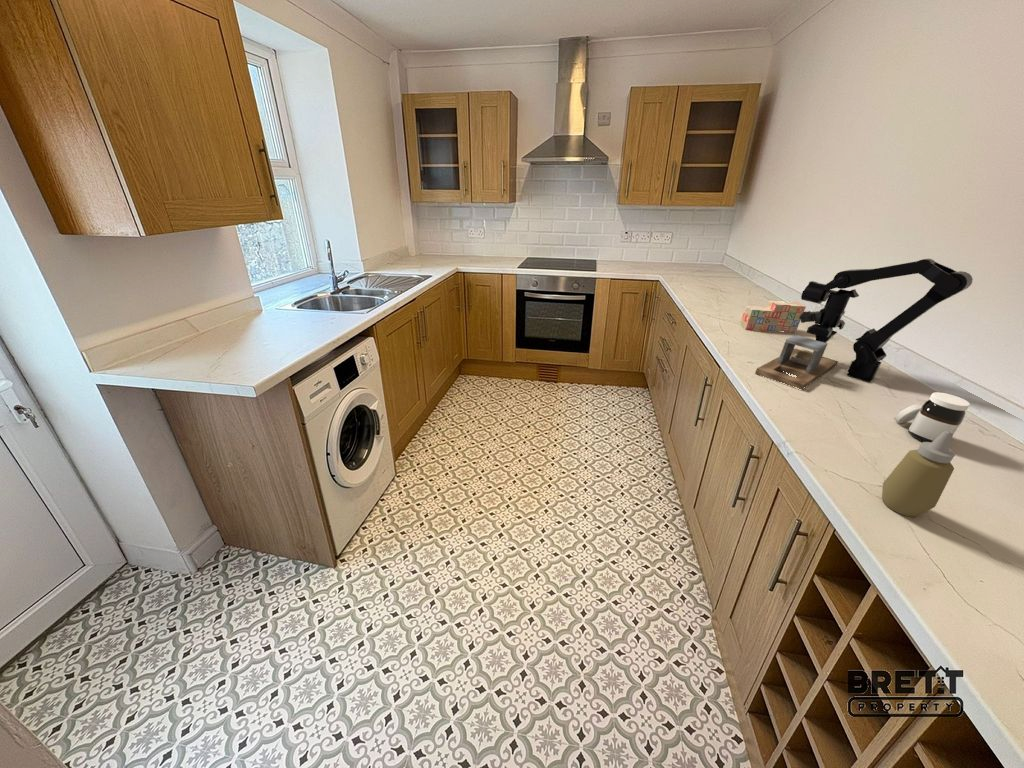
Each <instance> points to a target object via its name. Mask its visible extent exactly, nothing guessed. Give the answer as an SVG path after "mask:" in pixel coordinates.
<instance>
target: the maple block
mask: <svg viewBox="0 0 1024 768" xmlns="http://www.w3.org/2000/svg"><path fill="white" fill-rule="evenodd" d="M799 350H800V351H798V353H797V355H796V357H797V358H800V359H803V360H806V361H809V362H810V359H811V357H812V355H813V351H812V350H809V349H805V348H801V349H799Z"/></svg>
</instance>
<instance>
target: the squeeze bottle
mask: <svg viewBox="0 0 1024 768" xmlns="http://www.w3.org/2000/svg"><path fill="white" fill-rule="evenodd" d="M953 436H954V434H953V433H951V432H949V431H944V432H943V433H942V434H941V435H939V436H938V437H937V438H936V439H935V440H934V441H933V442H922V441H921V443H920V445H919V446H918V447H917V449H912V450H909V451H908V452H907V453H906V454H905V456H903V458H902V459H901V461H900V462H899V463H898V464H897V465H896V467H894V468H893V470H892V472H891V473H890V474H889V475H888V477H886V478H885V480H884V481H883V482H882V491H881V499H882V502H883V504H884V505H885V506H886V507H888V508H889V509H890V510H892V511H893V512H896V513H898V514H900V515H903V516H906V517H910V518H911V517H912V518H917V517H921V515H923V514H926V512H928V511H931V510H932V509H933V508H935V507H936V505H937V504H938V502H939V500H940V498H941V496H942V494H943V492H944V490H945V488H946V486H947V484H948V482H949V480H950V478H951V475H952V474H953V472H954V470H955V468H954V465H953V464H952V463H951V462H952V460H953V459H954V457H955V456H956V454H955V453H954V451H953V450H951V449H950V446H951V444H952V440H953Z"/></svg>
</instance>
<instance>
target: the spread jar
mask: <svg viewBox="0 0 1024 768" xmlns="http://www.w3.org/2000/svg"><path fill="white" fill-rule="evenodd" d="M970 406H971V403H970V402H969V401H968V400H966V399H964V398H962V397H959V396H957V395H953V394H951V393H946V392H938V391H937V392H932V393H931V395H930V396H929V399H928V400H926V401H925V402H924V403H923V404H922V403H914V404H913V405H912V404H911V405H910V406H908V407H906V408H904V409H902V410H901V411H899V412H898V413H897V414H896V415H895V416H894V418H893V419H894V420H895V421H894V422H896V423H897V424H899V425H901V424H905V423H908V422H911V421H912V422H911V424H910V426H909V428H908V431H907V432H908V434H909V435H910V436H911V437H912V438H914V439H916V440H917V441H920V442H921V443H922V442H933V441H934V440H935V439H936V438H937V437H938V436H939V435H941V434H942V433H943V432H944V431H949V432H951V433H953V435H954V434H955V433H956V431H957V430H958V428H959V427H960V425H961V424H962V422H963V420H964V418H965V416H966V411H967V410H968V409H969V407H970Z"/></svg>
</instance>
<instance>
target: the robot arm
mask: <svg viewBox="0 0 1024 768" xmlns="http://www.w3.org/2000/svg"><path fill="white" fill-rule="evenodd" d="M916 274H919V275H921V276H922V277H924V278H925V279H926V280H928V281H929V282H931V283H932V284H934V285H932V286H931V288H930V289H928V291H927V292H926V293H925V294H924V295H923V296H922V297H921V298H920V299H918V300H917V301H916V302H914V303H913V304H912V305H910V306H909V307H908V308H906V309H905V310H904V311H902V312H901V313H900V314H898V315H897V316H895V317H894V318H893V319H891V320H890V321H889V322H887V323H886V324H885V325H883V326H882V327H881V328H879V329H875V328H874V327H873V328H871V329H869V330H866V331H865V332H864V333H863V334H862V335H861V336H860V337H857V338H855V342H854V343H853V345H852V346H853V347H852V348H853V351H854V353H855V359H853V360H852V361H851V363H850V366H849V367H848V370H847V374H846V376H848V377H851V378H854V379H858V380H861V381H863V382H864V381H865V382H867V383H871V382H872V381H873V380H875V379H876V374H877V372H878V371H879V368H880V367H881V365H882V361H883V360H884V359H885V358H886V357H887V353H886V352H885V350H884V348H883V347H884V346H885V345H886V344H887V343H888V342H889V341H890V339H892V337H893V336H894V335H896V334H897V333H899V332H900V331H902V330H903V329H904V328H906V327H907V326H909V325H910V324H911V323H913V322H914V321H915V320H917V319H918V318H920V317H922V315H923V314H926V313H927V312H928V311H930V310H931V309H932V308H934V307H935V306H937V305H938V304H939V303H942V302H943V301H946V300H947V299H949V298H951V297H954V296H955V295H957V294H959V293H961V292H963V291H965V290H967V289H968V288H969V287H971V285H972V284H973V280H974V279H973V276H972V275H971V273H969V272H967V271H963V270H962V271H961V270H960V271H957V270H955V269H953V268H950V267H949V266H945V265H943V264H941V263H939V262H936V261H935V260H934V259H932V258H923V259H919V260H917V261H910V262H905V263H900V264H894V265H888V266H883V267H878V268H877V267H876V268H859V269H854V268H853V269H847V270H843V271H839V272H837V273H836V274H835V275H834V276H833V279H832V280H831V281H828V282H827V283H819V282H817V281H813V280H811V281H809V282H808V284H807V286H806V287H805V288H804V289H803V291H802V292H801V296H800V299H801V300H802V301H806V302H811V303H814V304H818V305H820V304H822V303H824V302H825V304H824V306H823V308H821V309H820V310H819V311H816V310H815V311H810V310H808V311H805V310H804V312H803V313H802V314H801V315H800V317H799V319H801V320H800V324H801V323H802V324H804V323H812V322H814V324H812V325H810V326H807V330H806V333H807V334H811V335H814V336H815V340H817V341H820V342H824V343H826V342H827V343H828V342H829V341H830V340H831V339H832V338H834V336H835V335H836V334H837V333H838V331H835V330H834V329H836V328H838V329H839V330H843V329H844V327H845V325H846V322H845V321H844V319H843V320H842V316H844V315H845V313H846V311H845V310H846V308H847V305H848V303H849V300H850V298H852V299H855V298H858V297H859V296H860V295H859V293H858V292H857V290H856V288H855V289H851V290H847V288H852V287H856V286H859V285H863V284H866V283H869V282H871V281H872V282H873V281H878V280H885V279H890V278H897V277H903V276H904V277H905V276H910V275H916ZM834 289H838V290H834Z"/></svg>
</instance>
